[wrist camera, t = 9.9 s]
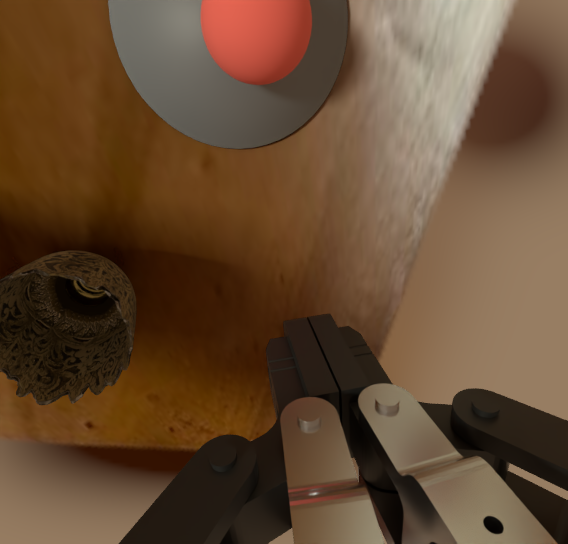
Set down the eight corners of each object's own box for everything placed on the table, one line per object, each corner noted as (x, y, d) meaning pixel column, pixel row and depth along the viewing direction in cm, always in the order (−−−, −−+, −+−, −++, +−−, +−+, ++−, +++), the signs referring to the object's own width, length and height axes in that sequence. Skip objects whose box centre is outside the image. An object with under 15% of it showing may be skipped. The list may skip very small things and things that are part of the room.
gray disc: (203, 187, 25) (203, 188, 25) (52, -37, 19) (50, -38, 19) (381, 76, 24) (382, 76, 24) (276, -192, 18) (276, -195, 18)
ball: (226, -43, 20) (243, 71, 24) (162, -38, 17) (193, 97, 20) (325, -57, 18) (328, 70, 22) (278, -55, 15) (291, 98, 18)
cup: (6, 269, 25) (-79, 337, 17) (94, 200, 24) (43, 242, 17) (95, 343, 28) (54, 428, 21) (176, 285, 27) (163, 351, 20)
